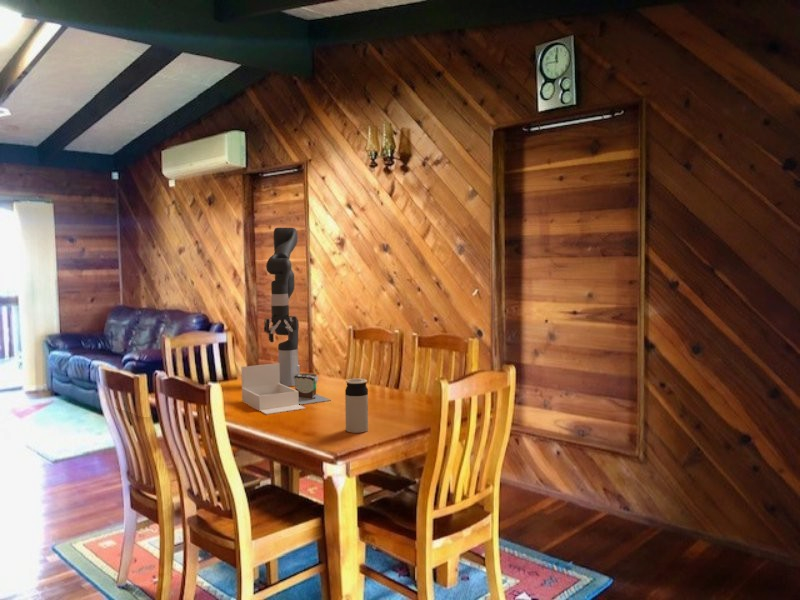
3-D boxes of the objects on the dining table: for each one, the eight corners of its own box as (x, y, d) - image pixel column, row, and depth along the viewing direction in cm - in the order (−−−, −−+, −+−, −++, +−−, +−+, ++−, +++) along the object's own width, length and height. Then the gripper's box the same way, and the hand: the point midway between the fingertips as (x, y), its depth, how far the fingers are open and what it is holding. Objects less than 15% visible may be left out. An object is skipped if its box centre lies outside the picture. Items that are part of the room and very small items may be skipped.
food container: (324, 397, 281) (324, 374, 281) (315, 399, 276) (315, 376, 275) (302, 394, 288) (302, 371, 287) (293, 396, 283) (293, 374, 282)
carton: (279, 396, 285) (278, 363, 284) (305, 408, 262) (305, 372, 261) (242, 401, 275) (241, 367, 274) (266, 414, 253) (265, 376, 252)
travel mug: (344, 433, 225) (344, 382, 224) (346, 427, 233) (346, 378, 232) (367, 433, 225) (367, 382, 224) (368, 427, 233) (368, 378, 232)
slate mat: (310, 392, 293) (310, 391, 293) (330, 400, 276) (330, 399, 276) (281, 396, 285) (281, 395, 285) (300, 405, 268) (300, 404, 268)
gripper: (291, 302, 288) (292, 338, 289) (261, 304, 279) (262, 341, 281) (298, 303, 281) (299, 340, 283) (268, 305, 273) (269, 343, 275)
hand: (280, 341), depth 282 cm, fingers open, 8 cm apart
